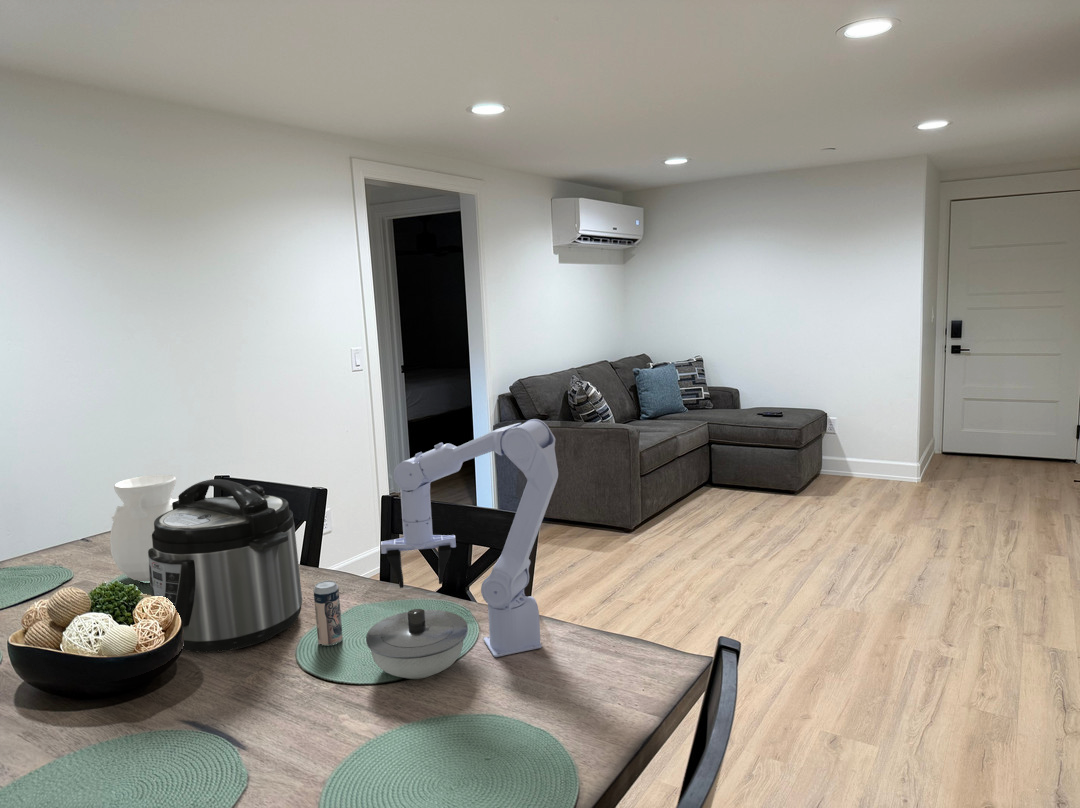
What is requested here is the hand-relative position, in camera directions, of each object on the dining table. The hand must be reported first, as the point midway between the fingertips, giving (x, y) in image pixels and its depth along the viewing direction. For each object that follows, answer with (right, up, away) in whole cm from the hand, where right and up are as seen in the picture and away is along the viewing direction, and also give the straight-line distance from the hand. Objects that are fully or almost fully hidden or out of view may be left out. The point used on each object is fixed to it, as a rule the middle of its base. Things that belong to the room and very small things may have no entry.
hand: (421, 584), depth 148 cm
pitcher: (-73, -8, +39) cm, 83 cm away
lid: (+2, -6, -15) cm, 16 cm away
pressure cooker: (-40, -11, +7) cm, 43 cm away
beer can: (-18, -12, -1) cm, 21 cm away
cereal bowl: (+2, -13, -13) cm, 18 cm away
